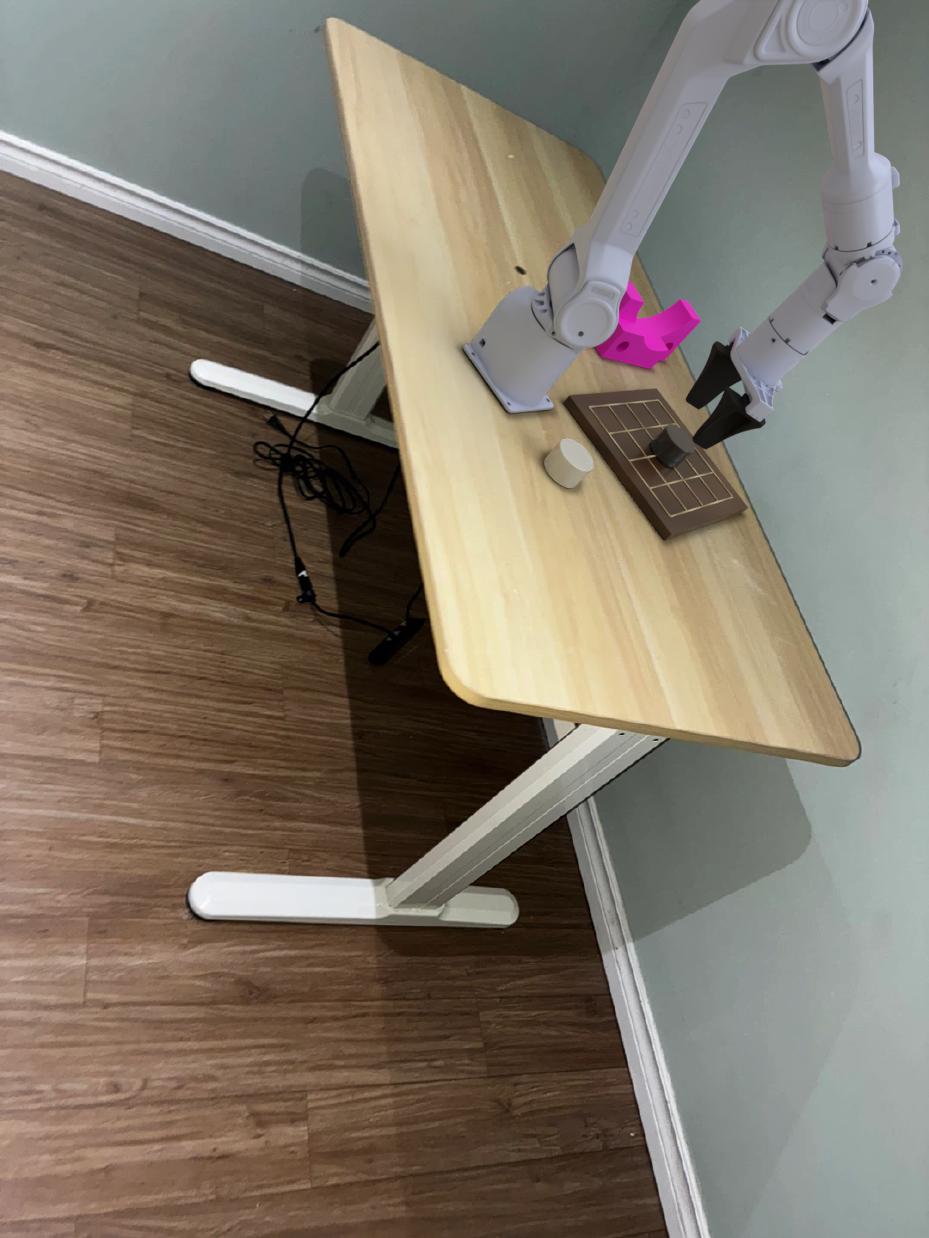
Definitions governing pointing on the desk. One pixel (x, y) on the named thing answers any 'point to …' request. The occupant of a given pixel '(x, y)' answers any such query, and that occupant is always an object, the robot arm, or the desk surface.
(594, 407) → the board
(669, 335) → the toy block
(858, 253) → the robot arm
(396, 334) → the desk surface
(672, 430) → the black stone
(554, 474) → the white stone
